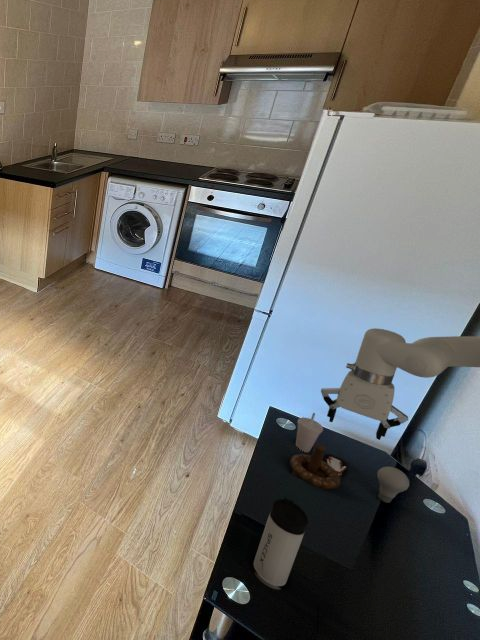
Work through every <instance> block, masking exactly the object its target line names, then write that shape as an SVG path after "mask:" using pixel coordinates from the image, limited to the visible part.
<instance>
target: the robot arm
mask: <svg viewBox="0 0 480 640" xmlns="http://www.w3.org/2000/svg"><path fill="white" fill-rule="evenodd" d="M448 367H453V368H454V367H458V368H461V367H462V368H480V336H472V335H470V336H469V335H461V336H458V335H455V336H429V337H424V338H419V339H416V340H414V341H413V342H411V343H410V342H406V338H404V337H403V336H402V335H401V334H399V333H397V332H395V331H391V330H388V329H384V328H376V327H375V328H369V329H367V330H366V331H365V332H364V335H363V338H362V341H361V343H360V347H359V350H358V353H357V356H356V359H355V361H354V363H348V362H347V363H346V366H345V368H346V369H349V370H350V371H348V372H347V374H346V375H345V377H344V379H343V381H342V382H341V385H340V387H322V388H321V389H320V393H321V396H322V398H323V401H324V402H325V403H326V404H327V406H328V411H327V414H326V417H328V418H329V420H328V421H329V423H334V420H335V417H336V413H337V409H338V408H340V409H343V410H346V411H349V412H353V413H355V414H358V415H360V416H363V417H366V418H370V419H373V420H375V421H379V424H378V427H377V429H376V432H375V439H376V440H378V441H380V440H381V439H382V438H385V437H386V435H387V431H388V429H391V428H393V427H398V426H401V425H402V424H404V423H406V422H407V421H409V416H408V415H407V414H405V413H404V412H403V411H402V410H400V409H398V408H397V407H395V406H394V405H393V403H394V398H395V391H396V390H395V385H394V384H393V383H392V382H393V379H394V378H395V374H396V371H397V369H400V370H402V371H404V372H405V373H407V374H410V375H412V376H415V377H419V378H424V379H426V378H427V379H428V378H434V377H437V376H439V375H440V374H441V373H443V372H445V370H446V369H447V368H448ZM329 395H337V396H336V399H332V398H331V396H329ZM390 413H392V414H393V415H395V416H396V417H395V418H390V419H389V415H390Z"/></svg>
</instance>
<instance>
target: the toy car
mask: <svg viewBox="0 0 480 640" xmlns="http://www.w3.org/2000/svg"><path fill="white" fill-rule="evenodd" d="M325 463H327V464H328V465H330V466H331V467H332V468H334V470H335V471H336V472H337V473H338V475H339V476H340V477H341V476H342V475H343V473H344V471H345V470H347V469H348V467H347V466H346V465H344V466H343V461H342V460H340V459H338V458H336V457H334V456H328V458H325Z"/></svg>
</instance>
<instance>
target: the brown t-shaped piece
mask: <svg viewBox="0 0 480 640" xmlns="http://www.w3.org/2000/svg"><path fill="white" fill-rule="evenodd" d="M326 450H327V448H326V447H325V446H324V445H322V444H320V443H314V446H313V450H312V453H311V455H310V456H311V458H310V461H309V464H308V465H306V464H303V465H302V466H303V468H304V469H306V470H307V471H308V472H310V473H312V474H314V475H316V476H318V477H323V478H327V476H326V474H325V473H323V472H322V471H321V470H319V466H320V463H321V461H323V458H324V455H325V452H326ZM291 473H292V474H291V475H292V476H294V477H296V478H298V479H300V480H302V481H304V482H306V481H305V480H303V479H302V478H301V477H299V476H298V475H297V474H296V473H295V472H294V471H293V470H292V472H291ZM318 488H320V487H318ZM320 489H322V490H324V491H328V489H326V488H320Z"/></svg>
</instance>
